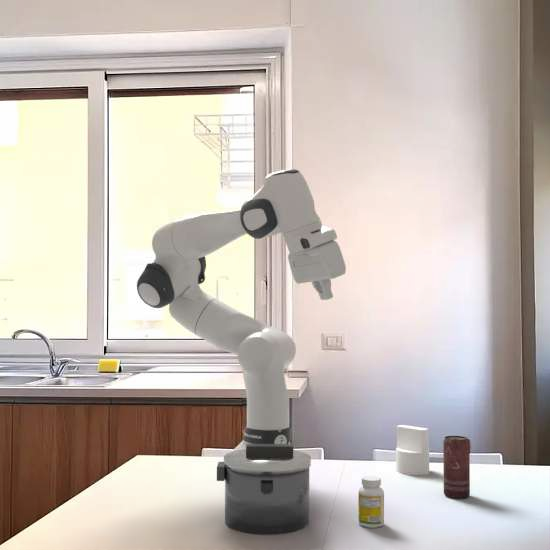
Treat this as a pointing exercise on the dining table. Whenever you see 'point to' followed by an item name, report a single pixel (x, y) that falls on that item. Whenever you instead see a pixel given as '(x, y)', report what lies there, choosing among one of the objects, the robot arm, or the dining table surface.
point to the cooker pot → (265, 501)
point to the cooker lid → (267, 459)
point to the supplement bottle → (371, 502)
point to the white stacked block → (412, 450)
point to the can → (456, 467)
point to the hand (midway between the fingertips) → (327, 299)
